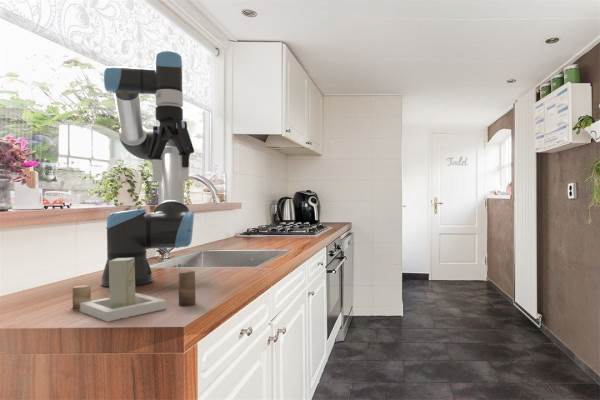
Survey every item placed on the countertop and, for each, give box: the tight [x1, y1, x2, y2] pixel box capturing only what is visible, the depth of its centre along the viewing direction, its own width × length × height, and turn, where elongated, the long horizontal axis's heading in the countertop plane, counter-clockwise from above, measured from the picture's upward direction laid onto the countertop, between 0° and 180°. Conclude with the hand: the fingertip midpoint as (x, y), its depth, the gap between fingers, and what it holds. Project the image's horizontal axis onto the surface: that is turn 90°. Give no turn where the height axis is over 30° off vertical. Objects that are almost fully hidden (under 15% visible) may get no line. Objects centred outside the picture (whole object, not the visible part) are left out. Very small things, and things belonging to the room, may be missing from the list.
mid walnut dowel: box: [177, 270, 196, 307], centre depth 108 cm, size 4×4×8 cm
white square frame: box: [79, 292, 167, 322], centre depth 103 cm, size 14×14×2 cm
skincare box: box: [108, 258, 136, 309], centre depth 103 cm, size 6×4×12 cm
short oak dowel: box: [71, 284, 92, 310], centre depth 106 cm, size 4×4×5 cm
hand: (170, 180), depth 125 cm, fingers open, 13 cm apart
